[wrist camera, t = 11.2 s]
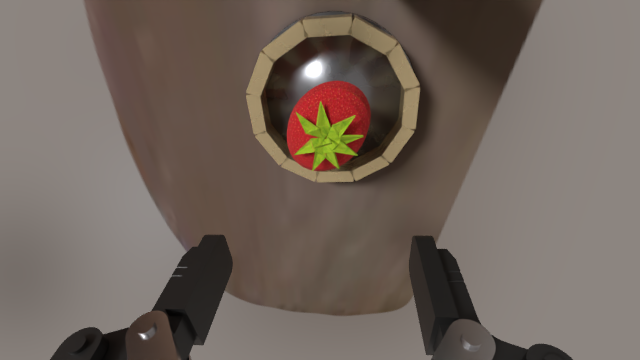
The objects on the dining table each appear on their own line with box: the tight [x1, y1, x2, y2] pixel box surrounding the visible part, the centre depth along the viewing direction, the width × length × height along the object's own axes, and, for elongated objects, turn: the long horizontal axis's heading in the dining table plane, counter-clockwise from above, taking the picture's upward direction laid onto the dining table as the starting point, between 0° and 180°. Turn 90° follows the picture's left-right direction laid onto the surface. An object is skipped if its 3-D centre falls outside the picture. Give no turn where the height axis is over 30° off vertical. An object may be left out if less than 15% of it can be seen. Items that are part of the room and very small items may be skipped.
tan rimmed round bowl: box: [246, 11, 420, 182], centre depth 28 cm, size 15×15×3 cm
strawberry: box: [287, 81, 371, 171], centre depth 24 cm, size 6×8×10 cm
